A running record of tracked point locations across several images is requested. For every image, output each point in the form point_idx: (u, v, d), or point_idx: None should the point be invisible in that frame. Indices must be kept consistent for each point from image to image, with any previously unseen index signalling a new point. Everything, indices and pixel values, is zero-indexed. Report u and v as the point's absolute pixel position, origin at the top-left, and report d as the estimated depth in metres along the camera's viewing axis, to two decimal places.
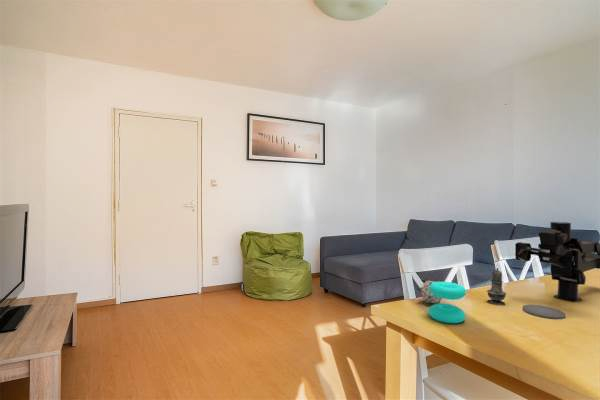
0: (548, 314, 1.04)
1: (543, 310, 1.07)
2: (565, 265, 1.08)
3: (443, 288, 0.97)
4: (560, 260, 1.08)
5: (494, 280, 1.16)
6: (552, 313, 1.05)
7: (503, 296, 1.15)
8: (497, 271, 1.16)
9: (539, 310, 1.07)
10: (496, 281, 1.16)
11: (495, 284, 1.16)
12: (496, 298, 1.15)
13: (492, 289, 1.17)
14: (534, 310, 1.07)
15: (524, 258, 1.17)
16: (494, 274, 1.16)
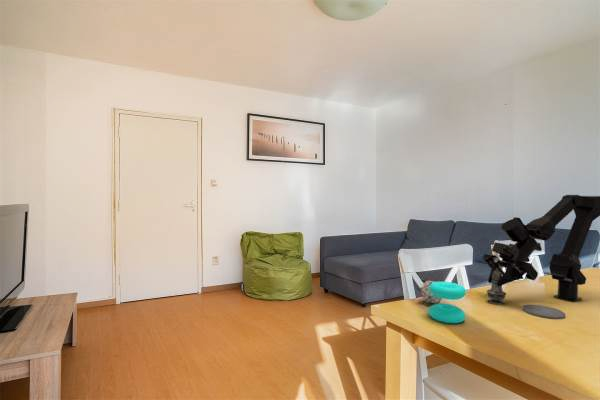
0: (548, 314, 1.04)
1: (543, 310, 1.07)
2: (516, 277, 1.14)
3: (443, 288, 0.97)
4: (509, 277, 1.14)
5: (494, 280, 1.16)
6: (552, 313, 1.05)
7: (503, 296, 1.15)
8: (497, 271, 1.16)
9: (539, 310, 1.07)
10: (496, 281, 1.16)
11: (495, 284, 1.16)
12: (496, 298, 1.15)
13: (492, 289, 1.17)
14: (534, 310, 1.07)
15: None
16: (494, 274, 1.16)
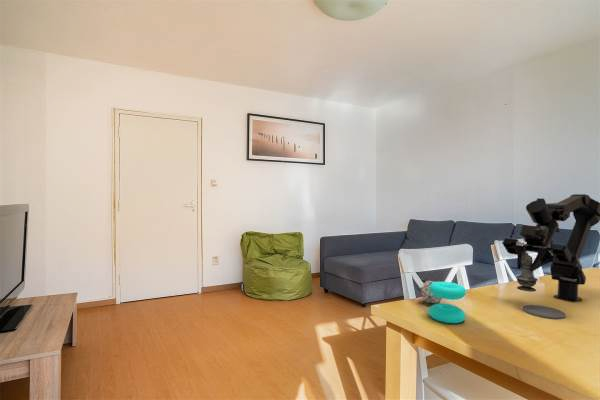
0: (548, 314, 1.04)
1: (543, 310, 1.07)
2: (547, 261, 1.09)
3: (443, 288, 0.97)
4: (541, 260, 1.09)
5: (526, 265, 1.09)
6: (552, 313, 1.05)
7: (535, 282, 1.08)
8: (528, 256, 1.10)
9: (539, 310, 1.07)
10: (528, 266, 1.09)
11: (526, 269, 1.09)
12: (529, 284, 1.08)
13: (523, 275, 1.10)
14: (534, 310, 1.07)
15: None
16: (525, 259, 1.09)
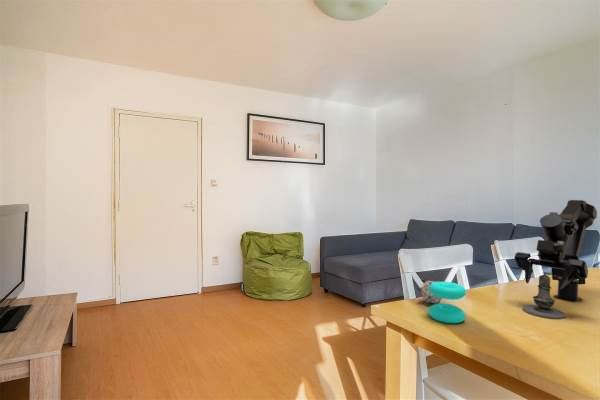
0: (548, 314, 1.04)
1: None
2: (573, 278, 1.05)
3: (443, 288, 0.97)
4: (567, 278, 1.04)
5: (544, 286, 1.06)
6: (552, 313, 1.05)
7: (553, 302, 1.06)
8: (546, 276, 1.07)
9: None
10: (547, 287, 1.06)
11: (545, 290, 1.06)
12: (548, 306, 1.05)
13: (542, 296, 1.07)
14: (534, 310, 1.07)
15: (530, 274, 1.13)
16: (544, 279, 1.07)
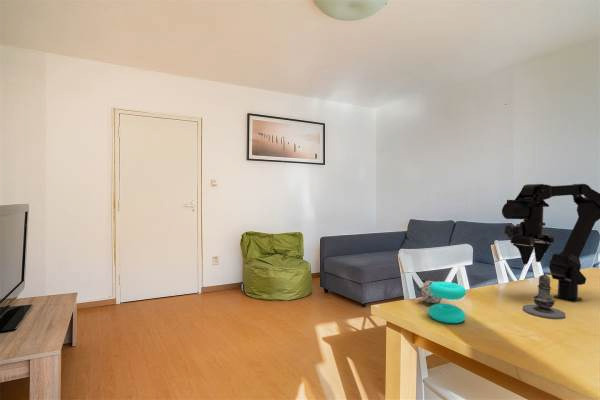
0: (548, 314, 1.04)
1: None
2: (529, 248, 1.16)
3: (443, 288, 0.97)
4: (524, 251, 1.18)
5: (544, 286, 1.06)
6: (552, 313, 1.05)
7: (553, 302, 1.06)
8: (546, 276, 1.07)
9: None
10: (546, 287, 1.06)
11: (545, 290, 1.06)
12: (548, 306, 1.05)
13: (542, 296, 1.07)
14: (534, 310, 1.07)
15: (543, 250, 1.23)
16: (544, 279, 1.06)
